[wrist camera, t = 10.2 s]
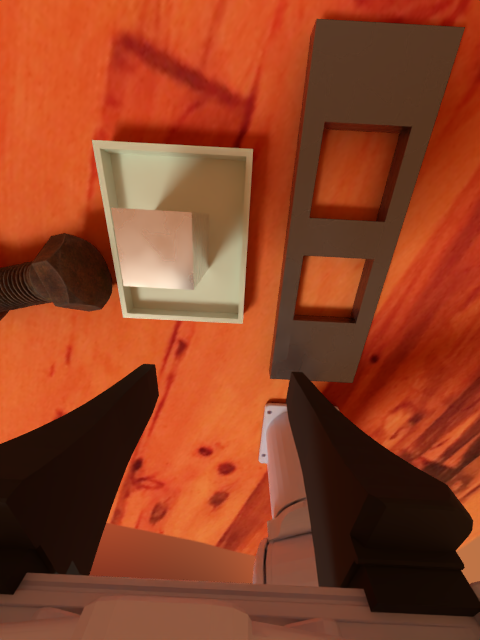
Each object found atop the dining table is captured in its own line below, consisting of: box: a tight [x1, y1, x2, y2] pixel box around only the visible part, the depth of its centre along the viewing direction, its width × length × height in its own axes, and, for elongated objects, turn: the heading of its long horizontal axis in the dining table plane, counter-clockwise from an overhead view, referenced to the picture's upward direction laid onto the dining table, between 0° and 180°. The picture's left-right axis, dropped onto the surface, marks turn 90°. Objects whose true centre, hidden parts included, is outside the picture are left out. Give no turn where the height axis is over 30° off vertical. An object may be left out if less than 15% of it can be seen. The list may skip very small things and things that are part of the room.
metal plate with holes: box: [269, 19, 465, 383], centre depth 18 cm, size 24×8×1 cm, turn 177°
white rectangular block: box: [111, 208, 209, 290], centre depth 15 cm, size 4×4×6 cm
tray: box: [92, 140, 253, 324], centre depth 17 cm, size 12×10×2 cm
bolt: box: [0, 233, 112, 320], centre depth 18 cm, size 6×5×15 cm
